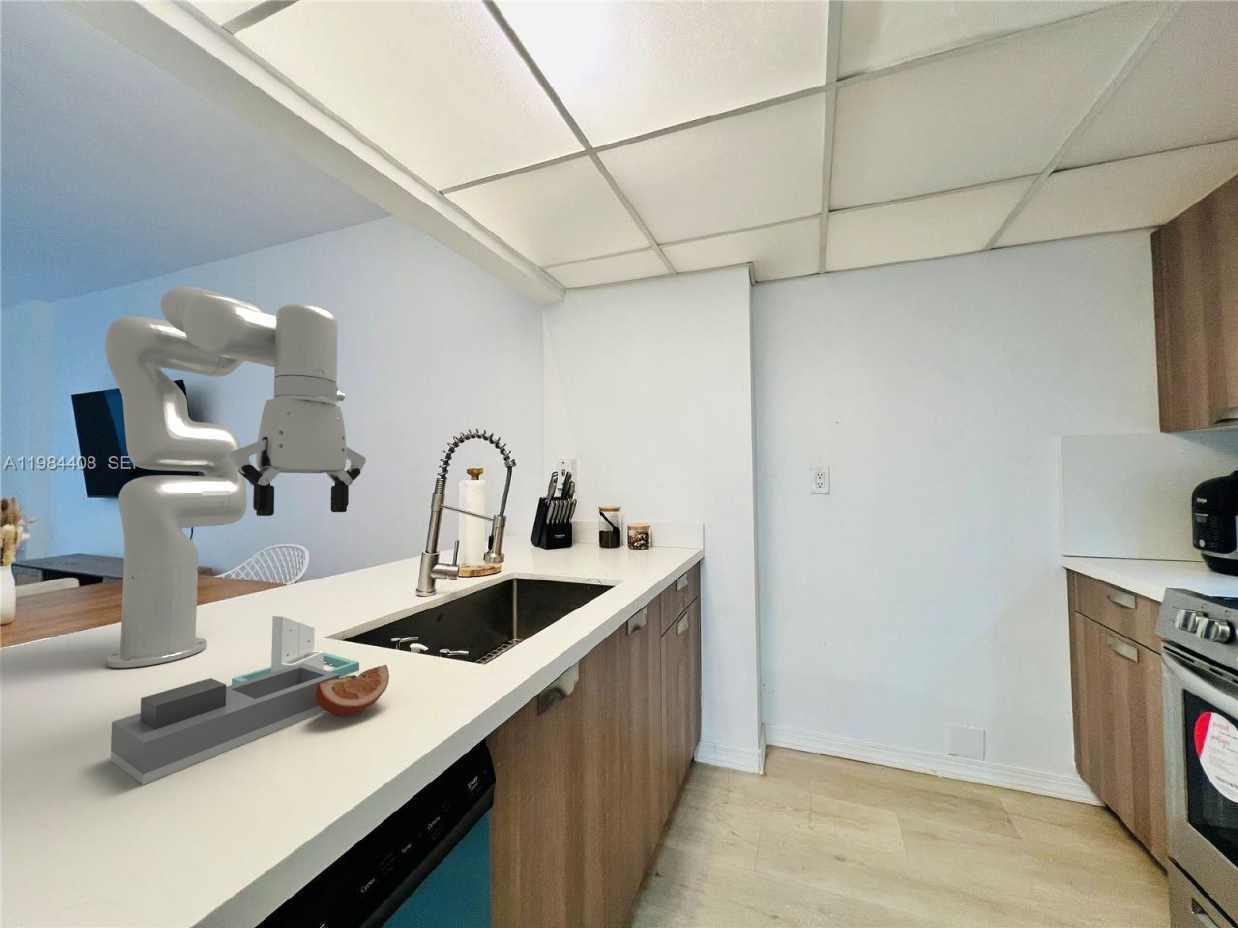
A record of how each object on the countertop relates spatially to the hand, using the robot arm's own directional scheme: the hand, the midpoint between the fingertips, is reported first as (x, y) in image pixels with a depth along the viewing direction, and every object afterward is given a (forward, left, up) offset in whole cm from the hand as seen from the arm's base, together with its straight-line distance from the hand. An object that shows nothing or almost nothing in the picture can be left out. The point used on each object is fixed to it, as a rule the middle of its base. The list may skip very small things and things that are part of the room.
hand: (304, 513), depth 67 cm
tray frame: (-7, +3, -25) cm, 27 cm away
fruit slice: (+11, +1, -26) cm, 28 cm away
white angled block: (-7, +3, -26) cm, 27 cm away
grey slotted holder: (+3, -9, -25) cm, 27 cm away
